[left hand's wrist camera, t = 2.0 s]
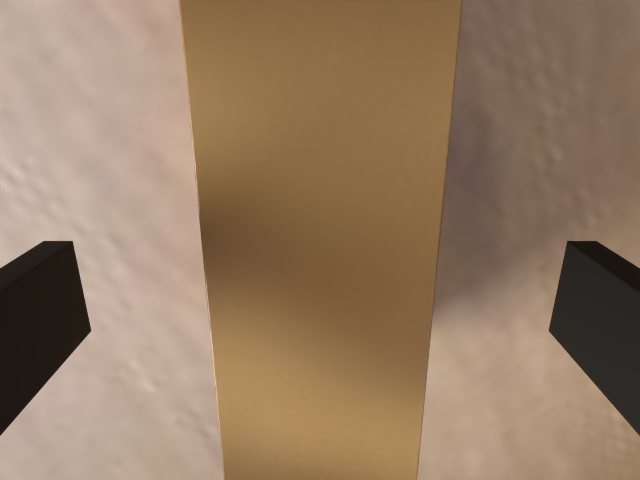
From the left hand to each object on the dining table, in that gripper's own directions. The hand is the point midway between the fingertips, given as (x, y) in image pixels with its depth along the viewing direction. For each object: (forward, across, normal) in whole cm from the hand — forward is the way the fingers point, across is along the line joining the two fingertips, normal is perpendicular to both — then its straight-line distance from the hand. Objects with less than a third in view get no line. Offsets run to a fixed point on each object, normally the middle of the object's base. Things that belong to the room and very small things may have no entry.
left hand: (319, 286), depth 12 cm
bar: (+9, 0, -25) cm, 26 cm away
